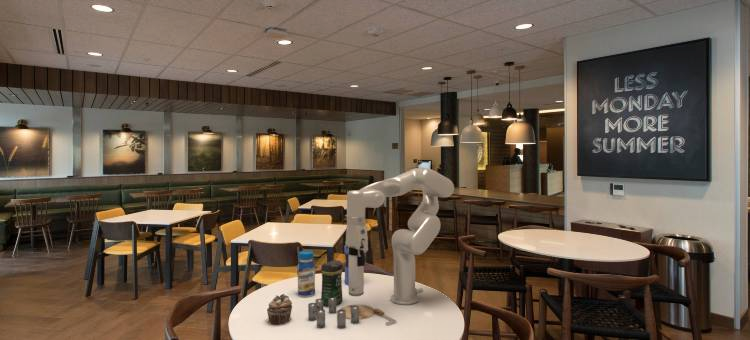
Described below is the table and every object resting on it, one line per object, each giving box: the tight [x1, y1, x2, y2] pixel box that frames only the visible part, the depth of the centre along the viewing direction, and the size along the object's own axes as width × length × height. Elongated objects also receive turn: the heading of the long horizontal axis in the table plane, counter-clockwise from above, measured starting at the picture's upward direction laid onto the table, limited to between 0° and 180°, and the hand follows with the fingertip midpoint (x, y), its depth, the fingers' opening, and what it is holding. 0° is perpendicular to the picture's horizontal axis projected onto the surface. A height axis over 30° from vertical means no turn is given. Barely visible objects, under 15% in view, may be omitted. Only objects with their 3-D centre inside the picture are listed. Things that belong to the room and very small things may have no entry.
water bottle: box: [343, 244, 349, 287], centre depth 203 cm, size 9×9×25 cm
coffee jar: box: [320, 259, 343, 307], centre depth 175 cm, size 10×8×19 cm
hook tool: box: [373, 308, 397, 326], centre depth 158 cm, size 13×5×2 cm, turn 36°
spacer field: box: [307, 297, 360, 330], centre depth 157 cm, size 16×19×6 cm
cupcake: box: [266, 293, 293, 326], centre depth 156 cm, size 10×10×10 cm
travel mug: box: [348, 247, 365, 297], centre depth 164 cm, size 6×7×20 cm
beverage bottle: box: [296, 250, 316, 298], centre depth 186 cm, size 8×8×20 cm
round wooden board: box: [339, 304, 375, 320], centre depth 165 cm, size 15×15×1 cm
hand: (356, 263), depth 164 cm, fingers closed on travel mug, 6 cm apart
